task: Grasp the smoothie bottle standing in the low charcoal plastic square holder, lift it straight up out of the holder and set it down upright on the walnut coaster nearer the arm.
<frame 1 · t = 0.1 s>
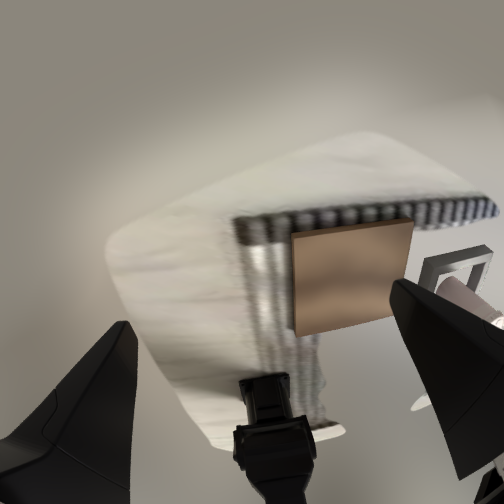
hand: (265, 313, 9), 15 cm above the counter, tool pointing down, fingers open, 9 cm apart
smoothie: (445, 287, 31), resting in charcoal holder
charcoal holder: (446, 288, 31), on the counter
walnut coaster: (350, 278, 28), on the counter
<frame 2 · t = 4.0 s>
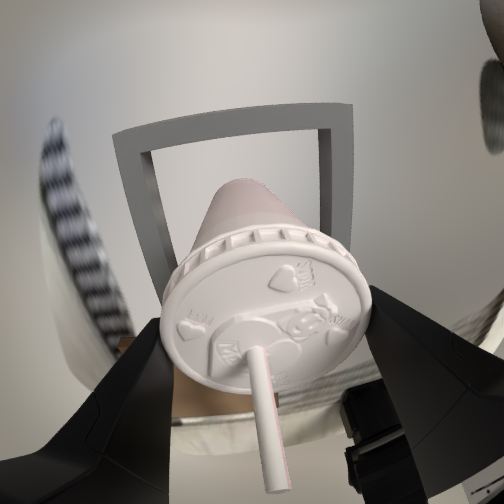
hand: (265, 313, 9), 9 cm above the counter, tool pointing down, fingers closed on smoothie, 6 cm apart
smoothie: (243, 208, 16), resting in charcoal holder, touching gripper
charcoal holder: (243, 209, 16), on the counter
walnut coaster: (208, 376, 24), on the counter
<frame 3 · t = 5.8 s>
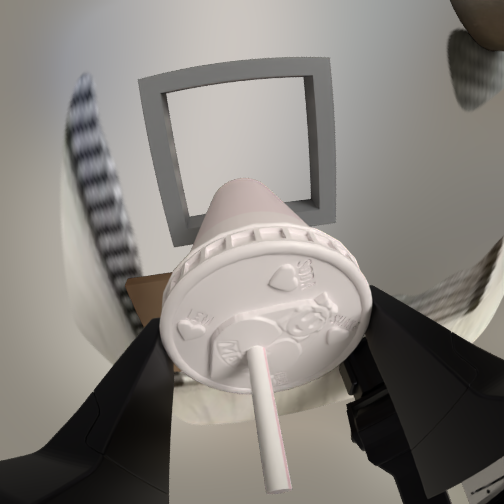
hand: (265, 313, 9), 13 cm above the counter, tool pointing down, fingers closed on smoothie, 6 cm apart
smoothie: (243, 207, 16), point 4 cm above the counter, touching gripper
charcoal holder: (243, 146, 18), on the counter
walnut coaster: (210, 321, 26), on the counter
pillar candle: (476, 6, 12), on the counter
when the fingers open (11 cm above the counter, at t = 7.8 s): smoothie drops 1 cm, resting on walnut coaster.
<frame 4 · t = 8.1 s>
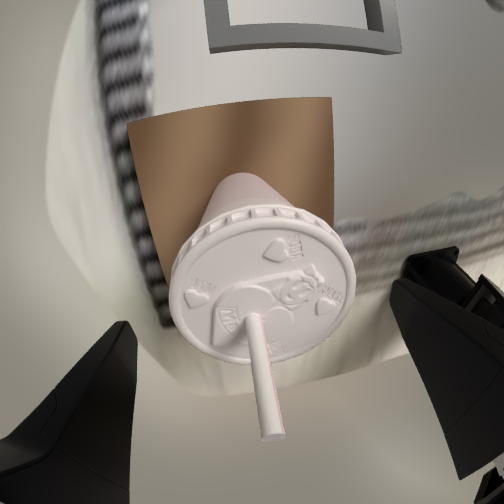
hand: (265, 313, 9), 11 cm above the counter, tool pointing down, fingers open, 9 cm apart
smoothie: (242, 200, 18), point 1 cm above the counter, touching walnut coaster
walnut coaster: (239, 195, 18), on the counter
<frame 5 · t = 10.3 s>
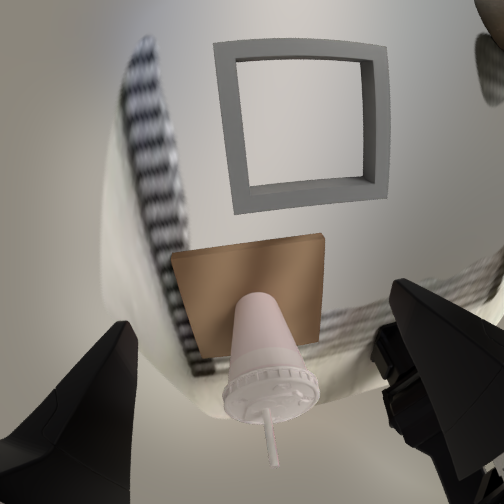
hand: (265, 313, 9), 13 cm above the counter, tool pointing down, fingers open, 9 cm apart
smoothie: (256, 307, 25), point 1 cm above the counter, touching walnut coaster
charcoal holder: (305, 120, 18), on the counter
walnut coaster: (254, 301, 26), on the counter
pillar candle: (496, 13, 12), on the counter
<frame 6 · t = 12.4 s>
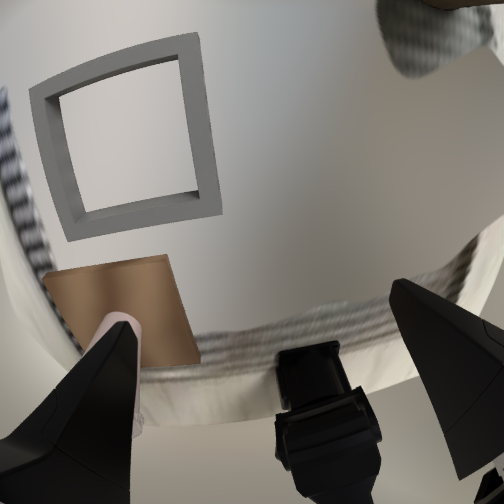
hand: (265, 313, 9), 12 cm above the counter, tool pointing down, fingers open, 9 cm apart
smoothie: (122, 325, 23), point 1 cm above the counter, touching walnut coaster
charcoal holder: (125, 138, 16), on the counter
walnut coaster: (123, 319, 24), on the counter
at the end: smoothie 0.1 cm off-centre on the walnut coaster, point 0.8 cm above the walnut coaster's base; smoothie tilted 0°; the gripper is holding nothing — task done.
